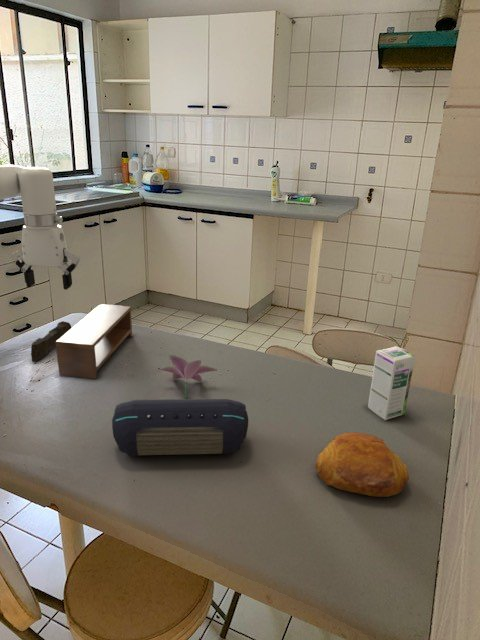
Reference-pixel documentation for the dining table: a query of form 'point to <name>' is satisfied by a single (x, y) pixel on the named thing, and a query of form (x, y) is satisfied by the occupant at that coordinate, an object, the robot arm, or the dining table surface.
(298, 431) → the dining table surface
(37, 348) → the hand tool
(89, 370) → the shelf stand
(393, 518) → the dining table surface
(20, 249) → the robot arm
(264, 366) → the dining table surface
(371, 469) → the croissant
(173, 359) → the lily
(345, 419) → the dining table surface
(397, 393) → the syrup box
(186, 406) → the portable speaker
